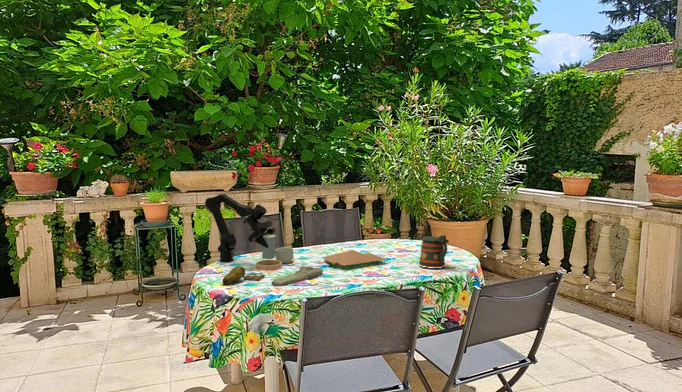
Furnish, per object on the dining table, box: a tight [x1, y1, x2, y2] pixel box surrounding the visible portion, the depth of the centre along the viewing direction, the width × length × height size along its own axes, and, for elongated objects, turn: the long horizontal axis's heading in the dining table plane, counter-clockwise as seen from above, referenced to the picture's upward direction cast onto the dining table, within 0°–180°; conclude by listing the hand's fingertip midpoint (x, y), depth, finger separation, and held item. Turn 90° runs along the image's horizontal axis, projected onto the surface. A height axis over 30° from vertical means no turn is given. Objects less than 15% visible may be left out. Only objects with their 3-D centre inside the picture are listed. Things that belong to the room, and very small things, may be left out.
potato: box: [222, 265, 247, 286], centre depth 247 cm, size 8×13×8 cm, turn 127°
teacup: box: [275, 246, 294, 264], centre depth 293 cm, size 14×11×8 cm
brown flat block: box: [321, 249, 387, 270], centre depth 291 cm, size 23×33×8 cm
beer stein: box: [418, 234, 449, 267], centre depth 284 cm, size 19×15×20 cm
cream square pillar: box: [261, 234, 276, 260], centre depth 277 cm, size 5×5×13 cm
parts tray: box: [243, 272, 266, 282], centre depth 254 cm, size 8×8×2 cm
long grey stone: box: [271, 265, 324, 287], centre depth 256 cm, size 35×5×10 cm
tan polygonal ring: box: [255, 259, 283, 271], centre depth 278 cm, size 14×14×3 cm
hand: (270, 246), depth 276 cm, fingers closed on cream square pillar, 5 cm apart
